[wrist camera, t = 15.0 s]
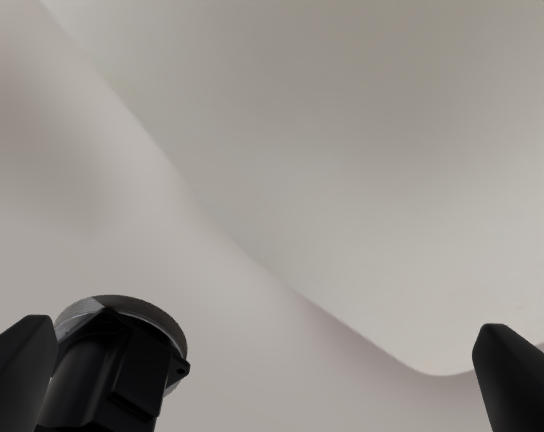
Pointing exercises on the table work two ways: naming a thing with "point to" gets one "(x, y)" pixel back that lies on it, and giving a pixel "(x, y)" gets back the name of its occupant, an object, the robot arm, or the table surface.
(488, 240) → the table surface
